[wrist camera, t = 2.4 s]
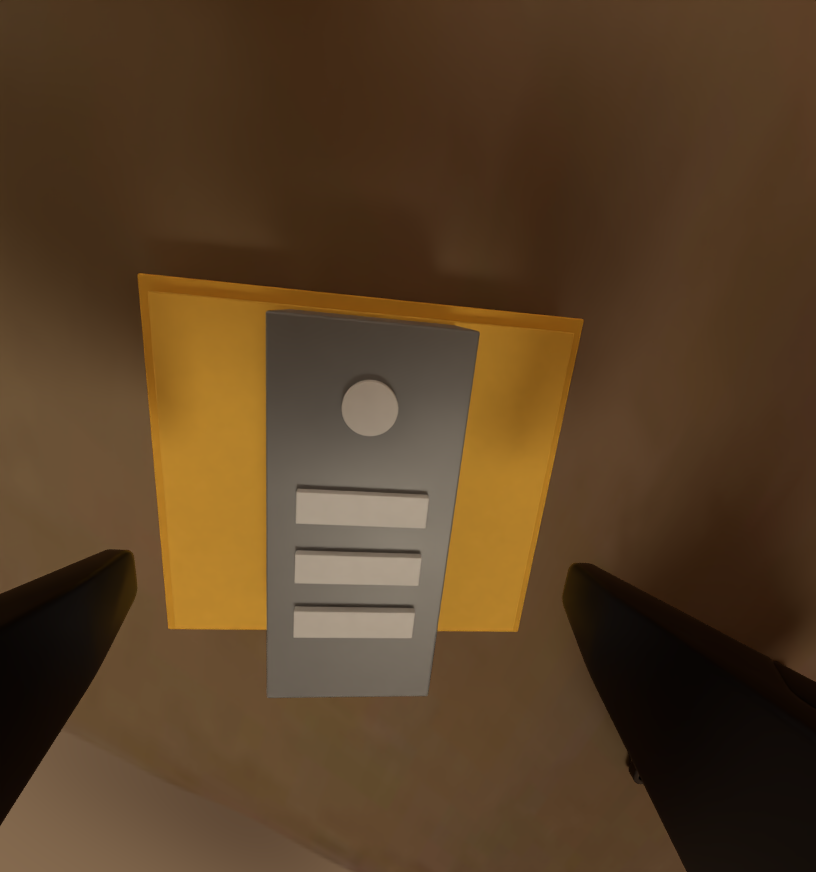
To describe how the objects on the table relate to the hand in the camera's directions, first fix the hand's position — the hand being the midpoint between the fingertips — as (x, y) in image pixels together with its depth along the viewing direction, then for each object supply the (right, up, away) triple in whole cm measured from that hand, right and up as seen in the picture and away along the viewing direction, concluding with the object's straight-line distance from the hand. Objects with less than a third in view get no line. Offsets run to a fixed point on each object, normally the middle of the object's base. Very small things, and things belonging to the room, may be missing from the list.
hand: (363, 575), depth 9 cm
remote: (-1, +1, +4) cm, 4 cm away
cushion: (-1, +2, +6) cm, 6 cm away
